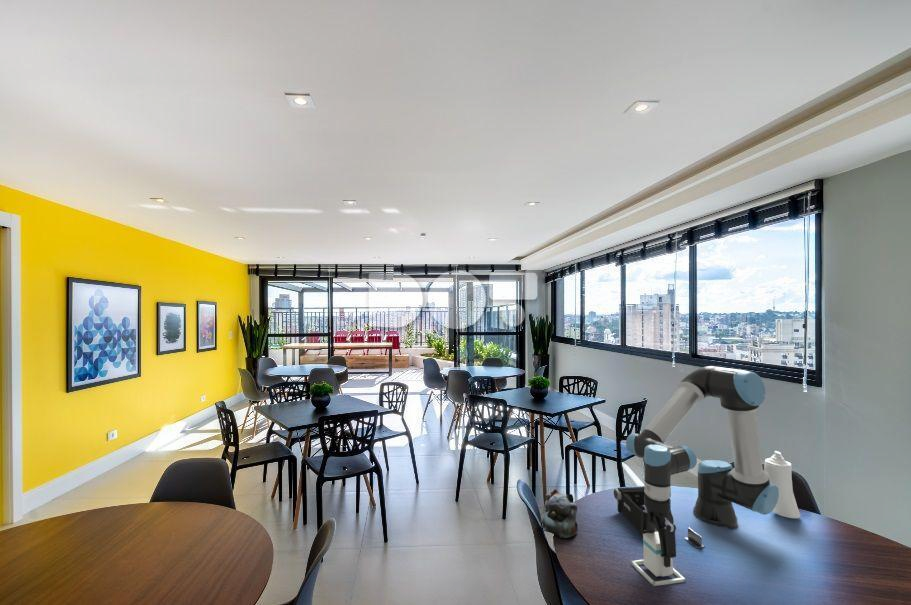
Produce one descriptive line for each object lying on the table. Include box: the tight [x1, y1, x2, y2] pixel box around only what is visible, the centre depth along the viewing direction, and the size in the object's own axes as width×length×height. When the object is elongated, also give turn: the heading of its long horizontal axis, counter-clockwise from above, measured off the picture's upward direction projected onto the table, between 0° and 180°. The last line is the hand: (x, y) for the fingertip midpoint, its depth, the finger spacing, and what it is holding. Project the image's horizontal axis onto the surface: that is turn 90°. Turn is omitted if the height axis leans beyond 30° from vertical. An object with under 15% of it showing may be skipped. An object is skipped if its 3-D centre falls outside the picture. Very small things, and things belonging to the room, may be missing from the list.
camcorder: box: [613, 486, 645, 535], centre depth 161 cm, size 20×18×10 cm
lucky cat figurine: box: [540, 488, 579, 539], centre depth 155 cm, size 15×12×14 cm
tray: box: [630, 558, 686, 587], centre depth 129 cm, size 11×11×2 cm
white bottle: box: [763, 450, 802, 519], centre depth 167 cm, size 12×11×25 cm
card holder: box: [684, 527, 706, 549], centre depth 146 cm, size 3×6×4 cm, turn 11°
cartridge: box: [642, 532, 674, 577], centre depth 129 cm, size 6×6×10 cm
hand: (657, 568), depth 129 cm, fingers closed on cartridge, 6 cm apart
